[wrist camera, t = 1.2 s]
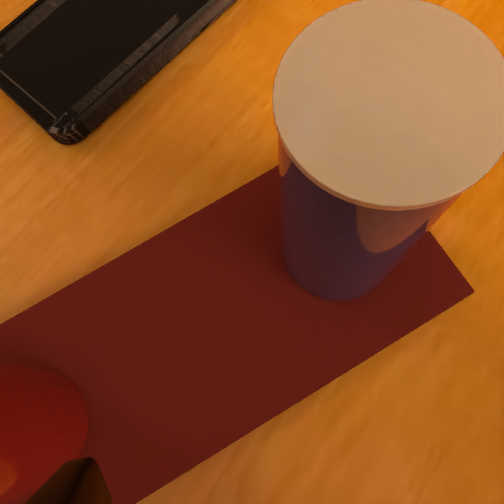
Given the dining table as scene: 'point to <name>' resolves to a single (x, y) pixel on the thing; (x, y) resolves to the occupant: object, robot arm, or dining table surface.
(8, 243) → the dining table surface
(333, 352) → the red mat
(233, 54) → the dining table surface
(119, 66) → the phone
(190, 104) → the dining table surface
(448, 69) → the blue canister
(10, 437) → the red canister
